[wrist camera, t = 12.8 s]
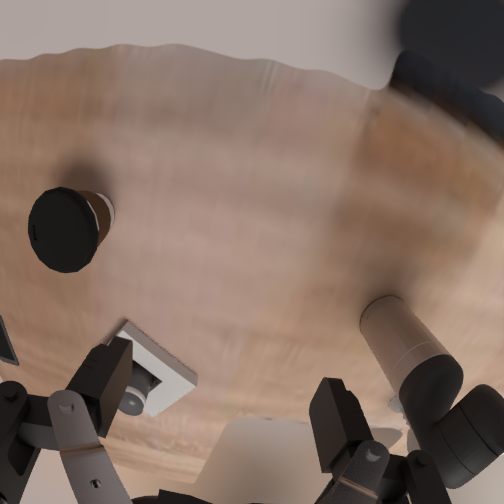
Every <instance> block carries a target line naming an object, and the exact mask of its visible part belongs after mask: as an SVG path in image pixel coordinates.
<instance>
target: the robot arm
mask: <svg viewBox="0 0 504 504" xmlns="http://www.w3.org/2000/svg"><path fill="white" fill-rule="evenodd" d="M360 329H361V333H362V335H363V336H364V338H365V340H366V342H367V343H368V345H369V347H370V349H371V350H372V352H373V354H374V356H375V357H376V359H377V361H378V363H379V364H380V366H381V368H382V370H383V372H384V373H385V375H386V377H387V379H388V381H389V382H390V384H391V386H392V388H393V389H394V391H395V393H396V395H397V397H398V399H399V400H400V402H401V404H402V406H403V409H404V413H405V415H406V417H407V419H408V421H409V423H410V425H411V428H412V430H413V432H414V434H415V437H416V439H417V442H418V444H419V447H420V449H421V450H413V451H411V452H410V453H409V454H408V455H407V456H406V457H404V456H399V455H393V454H389V451H388V449H387V448H386V447H385V446H384V445H383V444H382V443H380V442H377V441H374V439H373V436H372V434H371V431H370V429H369V426H368V423H367V421H366V418H365V416H364V413H363V411H362V409H361V406H360V403H359V401H358V399H357V398H356V396H355V395H354V394H353V393H352V392H351V391H347V390H346V388H345V386H344V383H343V381H342V379H338V378H327V377H324V378H323V379H322V381H321V383H320V385H319V387H318V389H317V391H316V393H315V395H314V397H313V399H312V401H311V403H310V408H309V415H310V420H311V424H312V429H313V433H314V438H315V443H316V447H317V452H318V456H319V461H320V466H321V471H322V473H332V476H333V478H332V479H331V480H330V481H329V483H328V484H327V486H326V487H325V489H324V490H323V492H322V493H321V495H320V496H319V497H318V499H317V500H316V502H315V503H314V504H409V500H408V498H407V494H409V496H410V499H411V502H412V504H452V503H451V501H450V498H449V496H448V493H447V490H446V488H449V489H456V488H459V487H461V486H463V485H464V484H465V483H467V482H468V481H470V480H471V479H472V478H474V477H475V476H476V475H477V474H479V473H480V472H481V471H482V470H484V469H485V468H486V467H487V466H488V465H490V464H491V463H492V462H493V461H494V460H495V459H496V458H498V457H499V455H501V454H502V453H503V452H504V398H503V397H502V396H501V395H500V394H499V393H498V392H497V391H496V390H495V389H493V388H492V387H490V386H488V385H485V384H480V385H478V386H476V387H475V388H473V389H472V390H471V391H470V392H469V393H468V394H467V395H466V396H465V397H464V398H463V399H462V400H460V401H459V402H458V403H457V404H456V405H455V406H454V407H453V408H452V409H451V410H450V408H451V406H452V404H453V402H454V400H455V398H456V397H457V395H458V393H459V391H460V389H461V386H462V383H463V370H462V368H461V366H460V365H459V363H458V362H457V361H456V360H455V359H454V358H453V357H452V355H451V354H450V353H449V352H448V351H447V350H446V348H445V347H444V346H443V345H442V344H441V343H440V342H439V341H438V339H437V338H436V337H435V336H434V335H433V334H432V333H431V332H430V330H429V329H428V328H427V327H426V326H425V325H424V324H423V323H422V322H421V320H420V319H419V318H418V317H417V316H416V315H415V314H414V313H413V312H412V311H411V309H410V308H409V307H408V306H407V305H406V304H405V303H404V302H403V301H402V300H401V299H399V298H397V297H393V296H387V297H383V298H380V299H378V300H376V301H375V302H373V303H372V304H371V305H370V306H369V307H368V308H367V309H366V310H365V312H364V313H363V316H362V318H361V322H360ZM132 361H133V341H132V340H129V339H126V338H122V337H119V336H114V337H113V339H112V340H111V342H110V344H109V345H108V346H107V345H104V344H100V345H98V346H96V347H95V348H93V349H91V351H90V352H89V354H88V355H87V357H86V359H85V360H84V361H83V363H82V366H80V367H79V369H78V370H77V372H76V373H75V375H74V376H73V378H72V380H71V381H70V383H69V384H68V386H67V387H66V389H65V390H59V391H56V392H54V393H53V394H51V396H50V397H43V396H37V395H31V394H27V391H26V389H25V387H24V386H23V385H22V384H20V383H18V382H16V381H5V382H2V383H1V384H0V504H19V503H20V500H21V497H22V495H23V492H24V489H25V487H26V484H27V482H28V479H29V477H30V474H31V472H32V469H33V467H34V465H35V462H36V460H37V457H38V455H39V453H40V451H41V449H42V448H43V449H49V450H57V451H60V456H61V460H62V462H63V465H64V468H65V471H66V474H67V477H68V479H69V482H70V485H71V487H72V490H73V492H74V495H75V497H76V499H77V502H78V504H212V503H209V502H206V501H204V500H201V499H198V498H195V497H193V496H190V495H185V494H180V493H175V492H170V491H166V490H161V489H160V490H159V495H158V496H143V497H138V498H134V499H130V497H129V495H128V494H127V492H126V490H125V488H124V486H123V484H122V482H121V481H120V479H119V477H118V475H117V473H116V471H115V469H114V467H113V464H112V462H111V460H110V458H109V456H108V454H107V452H106V450H105V448H104V446H103V445H101V443H100V441H99V438H98V436H100V437H103V438H106V435H107V433H108V431H109V428H110V426H111V423H112V421H113V419H114V416H115V414H116V411H117V409H118V407H119V404H120V402H121V400H122V397H123V395H124V393H125V391H126V388H127V386H128V384H129V381H130V378H131V374H132ZM449 410H450V411H449ZM445 487H446V488H445ZM251 504H261V503H251Z"/></svg>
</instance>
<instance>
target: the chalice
mask: <svg viewBox="0 0 504 504" xmlns="http://www.w3.org/2000/svg"><path fill="white" fill-rule="evenodd" d="M389 408H390V409H392V410H393V411H395V412H397V413H401V412H402V413H403V419H406V421H407V423H406V424H407V425H409V426H410V429H409V430H408V435H407V450H408V452H409V453H410V452H411V451H413V450H421V449H420V447H419V444H418V442H417V439H416V437H415V434H414V432H413V430H412V428H411V425H410V423H409V421H408V419H407V417H406V415H405V413H404V409H403V406H402V404H401V402H400V400H399V399H398V397H397V396H396V397H394V398H393V399H392V400H391V401H390V403H389Z"/></svg>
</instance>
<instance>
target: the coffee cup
mask: <svg viewBox="0 0 504 504" xmlns="http://www.w3.org/2000/svg"><path fill="white" fill-rule="evenodd" d="M113 222H114V210H113V206H112V204H111V203H110V201H109V199H107V198H106V197H105V196H104V195H102V194H99V193H95V192H89V191H74V190H72V189H68V188H63V187H58V188H54V189H51V190H48V191H45V192H44V193H43V194H42V195H41V196H40V197H39V198H38V199H37V200H36V201H35V204H34V205H33V207H32V210H31V212H30V215H29V220H28V234H29V238H30V242H31V246H32V248H33V250H34V251H35V253H36V255H37V257H38V258H39V260H40V261H42V262H43V263H44V264H45V265H46V266H47V267H48V268H50V269H52V270H55V271H58V272H61V273H62V272H63V273H71V272H78V271H79V270H80V269H82V268H83V267H85V266H86V265H87V264H89V263H90V262H91V260H92V258H93V256H94V254H95V252H96V250H97V247H98V246H99V245H100V243H101V242H102V241H103V240H104V238H105V237H106V235H107V233H108V232H109V230H110V229H111V227H112V225H113Z"/></svg>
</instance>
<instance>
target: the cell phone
mask: <svg viewBox="0 0 504 504" xmlns="http://www.w3.org/2000/svg"><path fill="white" fill-rule="evenodd" d="M0 359H1V360H2V361H4V362H7V363H10V364H13V365H17V366H18V365H19V362H18V359H17V357H16V355H15V352H14V350H13V347H12V345H11V342H10V339H9V337H8V334H7V331H6V328H5V325H4V322H3V320H2V317H1V316H0Z"/></svg>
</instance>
